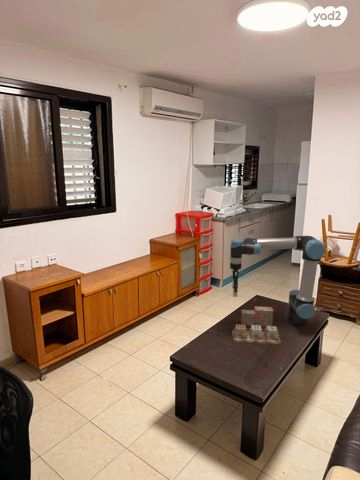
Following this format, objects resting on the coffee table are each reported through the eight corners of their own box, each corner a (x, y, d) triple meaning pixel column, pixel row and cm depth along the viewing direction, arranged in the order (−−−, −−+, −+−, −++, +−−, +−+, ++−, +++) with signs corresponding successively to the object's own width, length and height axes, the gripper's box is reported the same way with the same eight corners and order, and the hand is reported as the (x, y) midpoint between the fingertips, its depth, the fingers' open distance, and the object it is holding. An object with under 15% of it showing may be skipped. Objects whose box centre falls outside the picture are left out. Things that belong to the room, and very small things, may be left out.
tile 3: (244, 329, 218) (245, 324, 217) (245, 334, 212) (245, 329, 211) (235, 329, 218) (236, 324, 217) (236, 333, 212) (236, 328, 212)
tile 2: (260, 330, 217) (260, 325, 216) (261, 335, 211) (261, 329, 210) (250, 329, 217) (251, 324, 216) (251, 334, 211) (252, 329, 211)
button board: (277, 334, 219) (277, 328, 218) (280, 344, 208) (281, 337, 207) (232, 332, 222) (232, 325, 221) (233, 341, 211) (233, 334, 209)
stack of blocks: (241, 325, 232) (242, 309, 229) (240, 321, 238) (241, 305, 235) (272, 326, 230) (273, 310, 227) (270, 322, 236) (272, 306, 233)
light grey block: (275, 331, 216) (275, 326, 215) (277, 335, 210) (277, 330, 209) (266, 330, 216) (266, 325, 215) (267, 335, 210) (268, 330, 210)
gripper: (229, 257, 229) (228, 285, 234) (230, 268, 205) (229, 299, 210) (240, 257, 228) (239, 286, 233) (242, 268, 204) (241, 300, 209)
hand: (234, 292), depth 222 cm, fingers open, 13 cm apart
